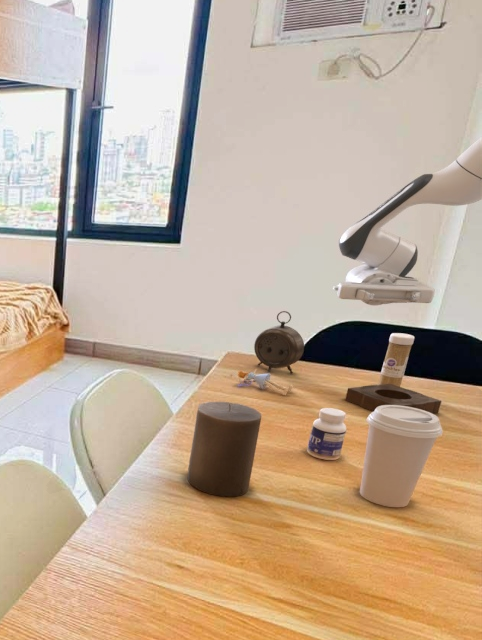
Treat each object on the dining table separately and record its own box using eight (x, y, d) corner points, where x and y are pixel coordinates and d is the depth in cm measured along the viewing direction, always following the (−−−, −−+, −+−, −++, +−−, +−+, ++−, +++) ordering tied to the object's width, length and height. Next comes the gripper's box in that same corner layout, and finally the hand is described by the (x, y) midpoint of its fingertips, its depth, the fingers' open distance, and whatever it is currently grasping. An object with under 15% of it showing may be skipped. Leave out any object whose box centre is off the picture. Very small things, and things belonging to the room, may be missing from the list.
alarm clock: (299, 373, 165) (312, 313, 159) (289, 377, 162) (302, 316, 156) (257, 364, 173) (268, 306, 168) (247, 367, 170) (257, 309, 165)
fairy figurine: (283, 386, 146) (231, 369, 154) (277, 404, 148) (225, 387, 156) (300, 375, 153) (249, 359, 161) (294, 393, 155) (244, 377, 163)
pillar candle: (238, 503, 103) (254, 419, 98) (178, 484, 109) (190, 404, 104) (255, 481, 110) (271, 402, 105) (197, 465, 116) (209, 389, 111)
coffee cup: (357, 506, 101) (379, 420, 96) (342, 480, 110) (362, 400, 105) (429, 516, 98) (457, 428, 93) (408, 489, 106) (432, 406, 101)
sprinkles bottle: (375, 388, 153) (388, 334, 149) (379, 383, 156) (393, 331, 152) (398, 392, 150) (412, 338, 146) (402, 388, 153) (416, 334, 148)
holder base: (387, 394, 149) (390, 383, 148) (440, 413, 137) (444, 401, 136) (342, 399, 146) (345, 387, 145) (393, 419, 135) (396, 406, 134)
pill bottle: (302, 447, 122) (311, 405, 119) (332, 449, 121) (342, 407, 118) (313, 459, 117) (323, 415, 114) (344, 461, 116) (355, 417, 113)
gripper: (333, 274, 171) (346, 283, 159) (424, 278, 164) (445, 287, 152) (328, 297, 174) (341, 307, 162) (418, 301, 166) (438, 313, 154)
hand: (392, 298), depth 157 cm, fingers open, 8 cm apart
